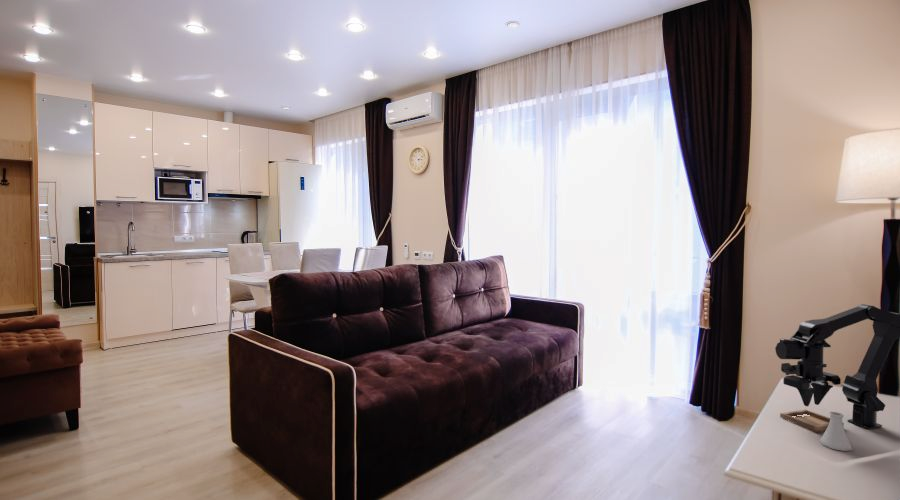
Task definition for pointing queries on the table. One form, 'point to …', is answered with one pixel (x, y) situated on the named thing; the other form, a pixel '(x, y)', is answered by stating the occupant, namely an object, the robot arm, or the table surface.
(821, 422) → the tray
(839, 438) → the flask
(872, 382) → the robot arm
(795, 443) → the table surface
